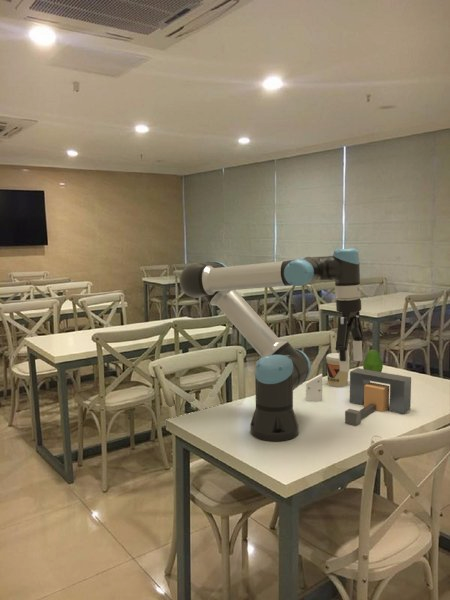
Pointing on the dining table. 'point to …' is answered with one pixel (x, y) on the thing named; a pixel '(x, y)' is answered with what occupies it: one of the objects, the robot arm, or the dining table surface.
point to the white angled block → (314, 389)
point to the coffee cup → (335, 371)
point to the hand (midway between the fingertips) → (351, 365)
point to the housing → (398, 383)
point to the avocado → (373, 361)
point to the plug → (369, 403)
